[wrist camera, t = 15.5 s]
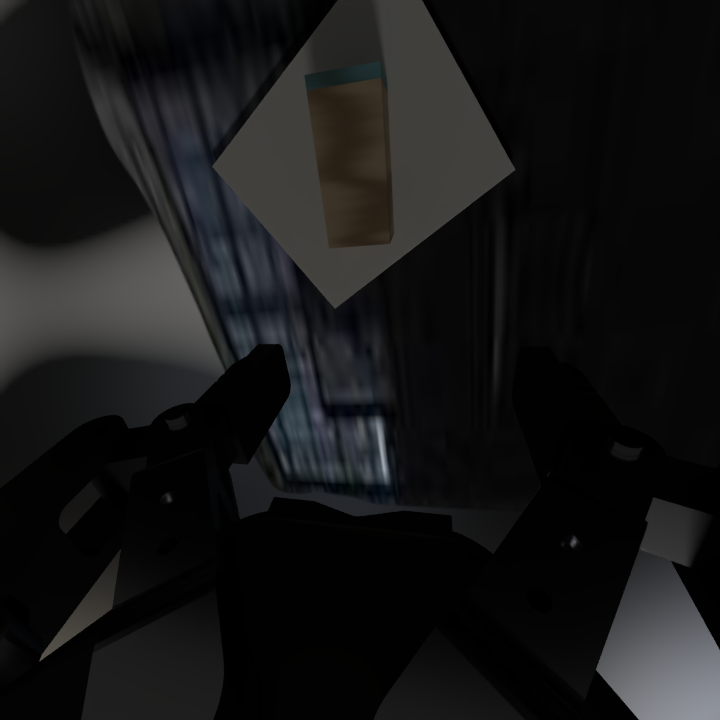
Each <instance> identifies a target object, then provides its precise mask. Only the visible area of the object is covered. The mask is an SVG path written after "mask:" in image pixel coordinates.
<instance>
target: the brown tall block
mask: <svg viewBox="0 0 720 720" xmlns="http://www.w3.org/2000/svg"><path fill="white" fill-rule="evenodd" d="M304 77H305V84H306V91H307V98H308V104H309V111H310V118H311V125H312V132H313V139H314V146H315V153H316V160H317V167H318V174H319V181H320V188H321V195H322V202H323V209H324V216H325V223H326V230H327V237H328V244H329V248H343V247H356V246H369V245H383V244H390V243H391V240H392V238H393V235H394V216H393V194H392V173H391V152H390V130H389V109H388V87H387V78H386V75H385V73H384V70H383V67H382V65H381V62H380V61H379V62H373V63H368V64H362V65H357V66H351V67H346V68H340V69H335V70H329V71H323V72H318V73H312V74H307V75H304Z"/></svg>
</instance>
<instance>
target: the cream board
mask: <svg viewBox="0 0 720 720" xmlns="http://www.w3.org/2000/svg"><path fill="white" fill-rule="evenodd" d="M379 61H380V62H381V65H382V67H383V70H384V73H385V75H386V78H387V87H388V109H389V130H390V152H391V173H392V194H393V216H394V235H393V238H392V240H391V243H390V244H383V245H369V246H356V247H343V248H329V244H328V237H327V230H326V223H325V216H324V209H323V202H322V195H321V188H320V181H319V174H318V167H317V160H316V153H315V146H314V139H313V132H312V125H311V118H310V111H309V104H308V98H307V91H306V84H305V77H304V75H307V74H312V73H318V72H323V71H329V70H335V69H340V68H346V67H351V66H357V65H362V64H368V63H373V62H379ZM212 167H213V168H214V169H215V170H216V171H217V173H218V174H219V175H220V176H221V177H222V178H223V180H224V181H225V182H226V183H227V184H228V185H229V187H230V188H231V189H232V190H233V191H234V192H235V193H236V195H237V196H238V197H239V198H240V199H241V200H242V202H243V203H244V204H245V205H246V206H247V207H248V208H249V210H250V211H251V212H252V213H253V214H254V215H255V217H256V218H257V219H258V220H259V221H260V222H261V224H262V225H263V226H264V227H265V228H266V229H267V230H268V232H269V233H270V234H271V235H272V236H273V237H274V239H275V240H276V241H277V242H278V243H279V244H280V246H281V247H282V248H283V249H284V250H285V251H286V252H287V254H288V255H289V256H290V257H291V258H292V259H293V261H294V262H295V263H296V264H297V265H298V266H299V268H300V269H301V270H302V271H303V272H304V273H305V274H306V276H307V277H308V278H309V279H310V280H311V281H312V283H313V284H314V285H315V286H316V287H317V288H318V290H319V291H320V292H321V293H322V294H323V295H324V296H325V298H326V299H327V300H328V301H329V302H330V303H331V305H332V306H333V307H334V308H336V307H338V306H339V305H340V304H341V303H343V302H344V301H345V300H347V299H348V298H349V297H351V296H352V295H353V294H354V293H356V292H357V291H358V290H360V289H361V288H362V287H364V286H365V285H366V284H367V283H369V282H370V281H371V280H373V279H374V278H375V277H376V276H378V275H379V274H380V273H382V272H383V271H384V270H386V269H387V268H388V267H389V266H391V265H392V264H393V263H395V262H396V261H397V260H399V259H400V258H401V257H402V256H404V255H405V254H406V253H408V252H409V251H410V250H412V249H413V248H414V247H415V246H417V245H418V244H419V243H421V242H422V241H423V240H425V239H426V238H427V237H428V236H430V235H431V234H432V233H434V232H435V231H436V230H438V229H439V228H440V227H441V226H443V225H444V224H445V223H447V222H448V221H449V220H450V219H452V218H453V217H454V216H456V215H457V214H458V213H460V212H461V211H462V210H463V209H465V208H466V207H467V206H469V205H470V204H471V203H473V202H474V201H475V200H476V199H478V198H479V197H480V196H482V195H483V194H484V193H486V192H487V191H488V190H489V189H491V188H492V187H493V186H495V185H496V184H497V183H499V182H500V181H501V180H502V179H504V178H505V177H506V176H508V175H509V174H510V173H511V172H513V171H514V170H515V168H514V167H513V165H512V163H511V161H510V159H509V158H508V156H507V154H506V152H505V150H504V148H503V147H502V145H501V143H500V141H499V139H498V138H497V136H496V134H495V132H494V130H493V128H492V127H491V125H490V123H489V121H488V119H487V118H486V116H485V114H484V112H483V110H482V108H481V107H480V105H479V103H478V101H477V99H476V98H475V96H474V94H473V92H472V90H471V88H470V87H469V85H468V83H467V81H466V79H465V77H464V76H463V74H462V72H461V70H460V68H459V67H458V65H457V63H456V61H455V59H454V57H453V56H452V54H451V52H450V50H449V48H448V47H447V45H446V43H445V41H444V39H443V37H442V36H441V34H440V32H439V30H438V28H437V27H436V25H435V23H434V21H433V19H432V17H431V16H430V14H429V12H428V10H427V8H426V7H425V5H424V3H423V1H422V0H338V1H337V2H336V3H335V5H334V6H333V7H332V9H331V10H330V11H329V12H328V14H327V15H326V16H325V18H324V19H323V20H322V22H321V23H320V24H319V26H318V27H317V28H316V30H315V31H314V32H313V34H312V35H311V36H310V38H309V39H308V40H307V42H306V43H305V44H304V46H303V47H302V48H301V50H300V51H299V52H298V54H297V55H296V56H295V58H294V59H293V60H292V62H291V63H290V64H289V66H288V67H287V68H286V69H285V71H284V72H283V73H282V75H281V76H280V77H279V79H278V80H277V81H276V83H275V84H274V85H273V87H272V88H271V89H270V91H269V92H268V93H267V95H266V96H265V97H264V99H263V100H262V101H261V103H260V104H259V105H258V107H257V108H256V109H255V111H254V112H253V113H252V115H251V116H250V117H249V119H248V120H247V121H246V123H245V124H244V125H243V126H242V128H241V129H240V130H239V132H238V133H237V134H236V136H235V137H234V138H233V140H232V141H231V142H230V144H229V145H228V146H227V148H226V149H225V150H224V152H223V153H222V154H221V156H220V157H219V158H218V160H217V161H216V162H215V164H214V165H213V166H212Z"/></svg>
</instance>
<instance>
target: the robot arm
mask: <svg viewBox="0 0 720 720" xmlns="http://www.w3.org/2000/svg"><path fill="white" fill-rule="evenodd" d="M290 388H291V383H290V377H289V373H288V369H287V364H286V360H285V355H284V351H283V348H282V346H281V345H280V344H258V345H257V346H256V347H255V348H254V349H253V350H252V351H251V352H250V353H249V354H248V355H247V356H246V357H244V358H243V359H241V360H239V361H237V362H236V363H234V364H233V365H232V366H231V367H230V368H229V369H228V370H227V371H226V372H225V374H223V375H222V376H221V377H220V378H219V379H218V381H217V382H215V383H214V384H213V385H212V386H211V387H210V388H209V389H208V390H207V391H206V392H205V393H204V394H203V395H202V396H201V397H200V398H199V399H198V400H197V401H196V402H195V403H185V404H181V405H177V406H174V407H172V408H170V409H168V410H166V411H164V412H162V413H161V414H159V415H158V416H157V417H156V418H155V419H154V420H153V421H152V423H151V425H149V426H143V427H138V428H131V429H129V428H128V427H127V425H126V423H125V421H124V420H123V418H122V417H120V416H117V415H109V416H104V417H100V418H96V419H94V420H91V421H89V422H87V423H85V424H83V425H81V426H79V427H78V428H76V429H75V430H73V431H72V432H71V433H69V434H68V435H67V436H66V437H64V438H63V439H62V440H61V441H60V442H58V443H57V444H56V445H54V446H53V447H52V448H51V449H49V450H48V451H47V452H46V453H44V454H43V455H42V456H40V457H39V458H38V459H37V460H35V461H34V462H33V463H32V464H30V465H29V466H28V467H27V468H26V469H24V470H23V471H22V472H20V473H19V474H18V475H17V476H15V477H14V478H13V479H12V480H10V481H9V482H8V483H7V484H5V485H4V486H3V487H2V488H0V720H638V718H637V717H636V716H635V715H634V714H633V712H632V711H631V710H630V709H629V708H628V707H627V706H626V705H625V703H624V702H623V701H622V700H621V698H620V697H619V696H618V695H617V694H616V693H615V692H614V690H613V689H612V688H611V687H610V686H609V685H608V683H607V682H606V681H605V680H604V679H603V678H602V676H601V675H600V674H599V673H598V672H597V671H596V668H597V665H598V662H599V659H600V656H601V654H602V651H603V648H604V645H605V643H606V640H607V637H608V634H609V632H610V629H611V626H612V623H613V621H614V618H615V615H616V612H617V609H618V607H619V604H620V601H621V598H622V596H623V593H624V590H625V587H626V584H627V582H628V579H629V576H630V573H631V570H632V568H633V565H634V562H635V560H636V556H637V554H638V551H639V549H641V550H643V551H646V552H649V553H651V554H654V555H657V556H660V557H662V558H665V559H668V560H671V562H672V564H673V566H674V567H675V569H676V571H677V573H678V575H679V576H680V578H681V580H682V582H683V584H684V585H685V587H686V589H687V591H688V593H689V595H690V596H691V598H692V600H693V602H694V604H695V606H696V607H697V609H698V611H699V613H700V615H701V617H702V618H703V620H704V622H705V624H706V626H707V627H708V629H709V631H710V633H711V635H712V636H713V638H714V640H715V642H716V644H717V646H718V647H719V649H720V464H719V466H718V467H717V469H716V468H712V467H708V466H704V465H700V464H696V463H692V462H688V461H684V460H680V459H676V458H673V457H669V456H667V453H666V451H665V449H664V448H663V447H662V445H661V444H659V443H658V442H657V441H656V440H655V439H654V438H652V437H651V436H649V435H647V434H646V433H644V432H642V431H640V430H637V429H635V428H632V427H629V426H626V425H622V424H621V423H620V422H619V421H618V419H617V418H616V417H615V415H614V414H613V413H612V411H611V410H610V409H609V407H608V406H607V405H606V403H605V402H604V401H603V399H602V398H601V397H600V395H597V391H596V390H595V388H594V387H593V386H592V385H590V382H589V380H588V379H587V378H586V376H585V375H584V374H583V372H581V371H580V370H578V369H577V368H575V367H574V366H572V365H570V364H569V363H560V362H559V361H558V359H557V358H556V356H555V355H554V353H553V352H552V350H551V349H550V348H549V347H529V346H522V347H521V348H520V350H519V353H518V359H517V364H516V370H515V375H514V381H513V386H512V404H513V408H514V411H515V413H516V416H517V419H518V422H519V425H520V428H521V430H522V433H523V436H524V439H525V442H526V444H527V447H528V450H529V453H530V456H531V459H532V461H533V464H534V467H535V470H536V473H537V476H538V478H539V481H540V484H541V486H540V488H539V489H538V491H537V492H536V494H535V495H534V496H533V498H532V499H531V501H530V502H529V504H528V505H527V506H526V508H525V509H524V511H523V512H522V514H521V515H520V516H519V518H518V519H517V521H516V522H515V524H514V525H513V526H512V528H511V530H510V531H509V532H508V534H507V535H506V536H505V538H504V539H503V541H502V542H501V544H500V545H499V547H498V548H497V549H496V551H495V552H494V554H492V553H491V552H489V551H488V550H487V549H486V548H484V547H483V546H481V545H480V544H478V543H477V542H475V541H473V540H471V539H469V538H467V537H465V536H463V535H461V534H459V533H456V532H453V531H452V517H451V516H450V515H441V514H431V513H422V512H412V511H399V512H390V513H383V514H376V515H367V516H359V517H357V516H352V515H349V514H347V513H344V512H341V511H339V510H336V509H333V508H331V507H328V506H326V505H323V504H320V503H318V502H315V501H307V500H298V499H288V498H279V497H274V499H273V501H272V503H271V505H270V507H269V510H268V511H267V512H262V513H258V514H254V515H251V516H248V517H245V518H243V519H241V520H240V517H239V512H238V507H237V502H236V497H235V492H234V487H233V482H232V477H231V474H230V472H229V468H230V466H231V465H232V463H236V464H248V463H249V462H250V460H251V458H252V457H253V455H254V453H255V452H256V450H257V448H258V447H259V445H260V443H261V442H262V440H263V438H264V437H265V435H266V433H267V432H268V430H269V428H270V427H271V425H272V423H273V422H274V420H275V418H276V417H277V415H278V413H279V412H280V410H281V408H282V407H283V405H284V403H285V402H286V400H287V398H288V397H289V394H290ZM89 482H91V483H92V484H93V486H94V487H95V489H96V490H97V491H98V493H99V494H100V495H101V497H100V498H99V499H98V500H97V501H96V502H95V503H94V505H93V506H92V507H91V508H90V509H89V510H88V511H87V512H86V513H85V514H84V515H83V517H81V519H80V520H79V521H78V522H77V523H76V524H75V525H74V526H73V527H72V528H71V529H70V530H69V532H68V533H67V534H65V533H64V532H63V531H62V530H61V529H60V526H59V517H60V514H61V512H62V510H63V509H64V507H65V506H66V505H67V504H68V503H69V502H70V501H71V500H72V499H73V498H74V497H75V496H76V495H77V494H78V493H79V492H80V491H81V490H82V489H83V488H84V487H85V486H86V485H87V484H88V483H89ZM120 549H121V553H120V559H119V566H118V573H117V580H116V586H115V593H114V600H113V607H112V610H110V611H109V612H107V613H106V614H105V615H103V616H102V617H101V618H99V619H98V620H96V621H95V622H94V623H92V624H91V625H89V626H88V627H87V628H85V629H84V630H83V631H81V632H80V633H78V634H77V635H76V636H74V637H73V638H72V639H70V640H69V641H67V642H66V643H65V644H63V645H62V646H61V647H59V648H58V649H56V650H55V651H54V652H52V653H51V654H49V655H48V656H47V657H45V658H44V659H43V660H41V661H40V662H39V660H40V658H41V655H42V653H43V652H44V651H45V649H46V648H47V647H48V645H49V644H50V643H51V641H52V640H53V639H54V637H55V636H56V635H57V633H58V632H59V631H60V629H61V628H62V627H63V625H64V624H65V623H66V621H67V620H68V619H69V617H70V616H71V615H72V613H73V612H74V610H75V609H76V608H77V606H78V605H79V604H80V602H81V601H82V600H83V598H84V597H85V596H86V594H87V593H88V592H89V590H90V589H91V588H92V586H93V585H94V584H95V582H96V581H97V580H98V578H99V577H100V576H101V574H102V573H103V572H104V570H105V569H106V567H107V566H108V565H109V563H110V562H111V561H112V559H113V558H114V557H115V555H116V554H117V553H118V551H119V550H120Z"/></svg>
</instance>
